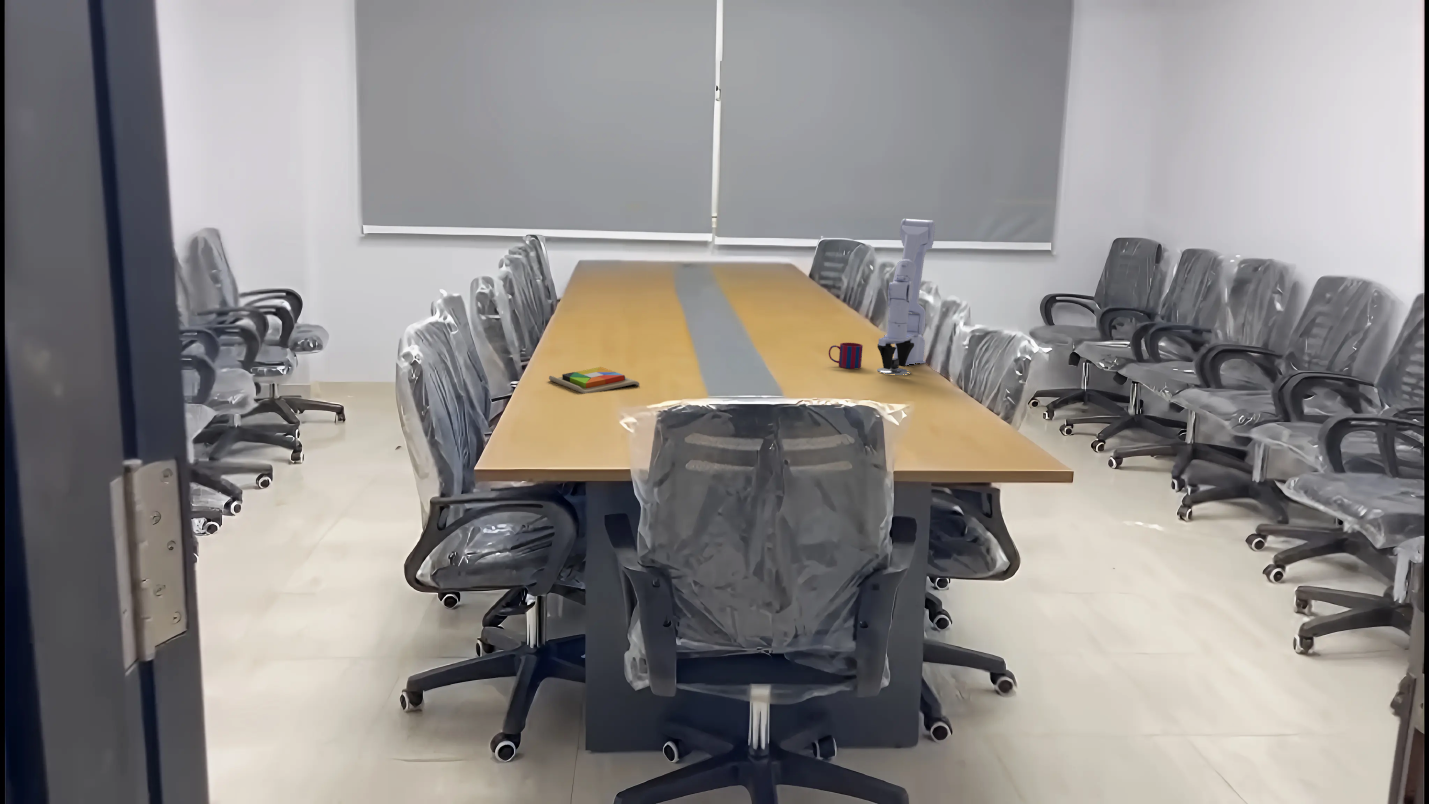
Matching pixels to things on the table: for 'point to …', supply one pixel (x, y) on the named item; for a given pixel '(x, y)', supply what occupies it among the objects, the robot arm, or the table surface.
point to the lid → (894, 368)
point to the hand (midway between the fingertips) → (894, 367)
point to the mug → (849, 355)
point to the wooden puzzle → (593, 380)
